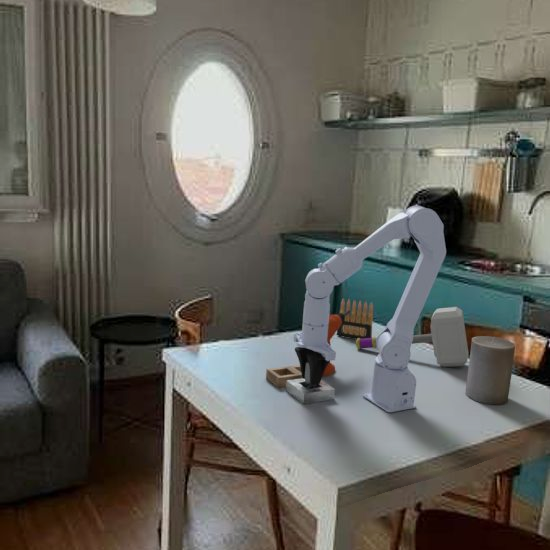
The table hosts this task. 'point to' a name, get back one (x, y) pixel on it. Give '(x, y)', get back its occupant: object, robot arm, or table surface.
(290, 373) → the rack
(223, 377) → the table surface
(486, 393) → the pillar candle
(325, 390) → the socket block
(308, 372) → the grey metal cylinder
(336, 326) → the toy drill
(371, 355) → the table surface
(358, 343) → the hammer
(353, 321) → the ammunition clip
